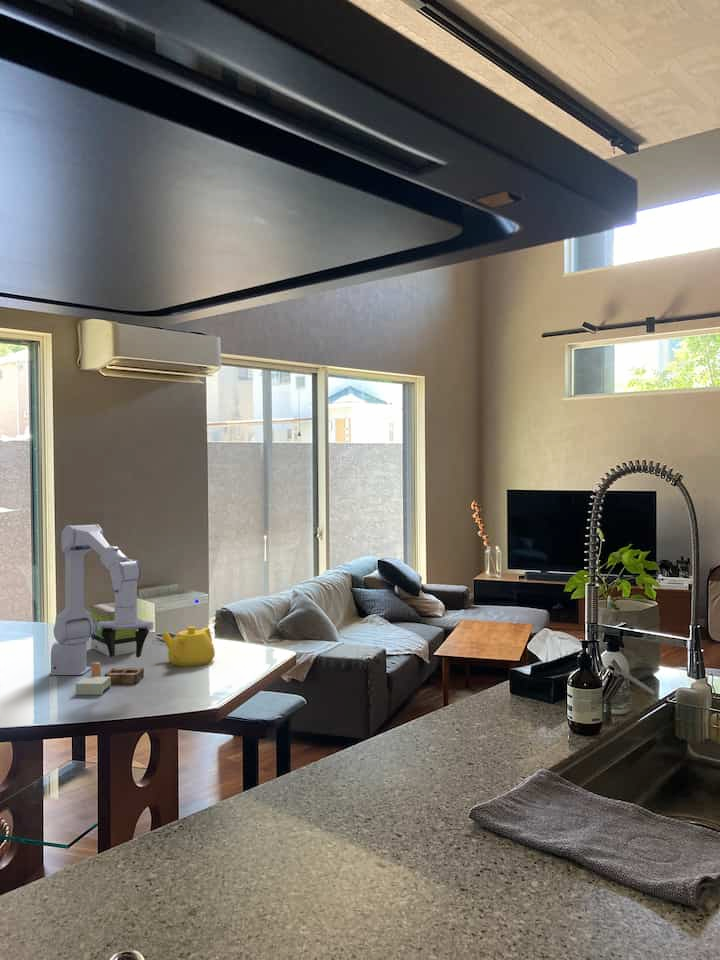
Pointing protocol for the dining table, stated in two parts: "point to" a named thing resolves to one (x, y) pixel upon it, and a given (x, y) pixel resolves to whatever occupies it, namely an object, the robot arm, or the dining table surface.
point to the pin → (96, 669)
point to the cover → (92, 685)
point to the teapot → (190, 647)
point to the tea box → (123, 637)
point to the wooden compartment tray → (125, 675)
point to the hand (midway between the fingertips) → (125, 656)
